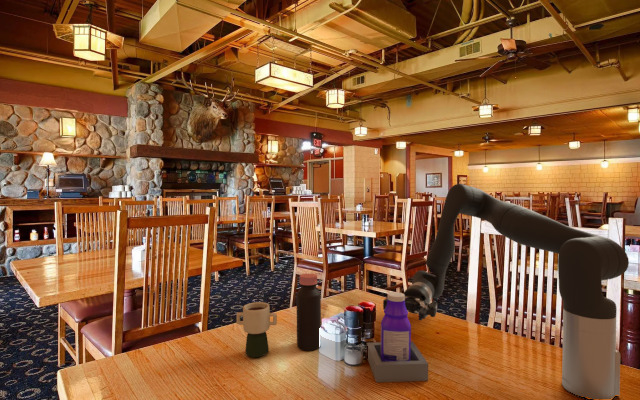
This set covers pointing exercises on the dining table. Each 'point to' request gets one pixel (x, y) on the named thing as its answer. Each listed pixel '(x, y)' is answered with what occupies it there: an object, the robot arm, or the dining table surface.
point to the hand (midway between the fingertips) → (403, 313)
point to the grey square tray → (397, 366)
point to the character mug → (256, 327)
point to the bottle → (395, 330)
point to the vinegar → (308, 313)
